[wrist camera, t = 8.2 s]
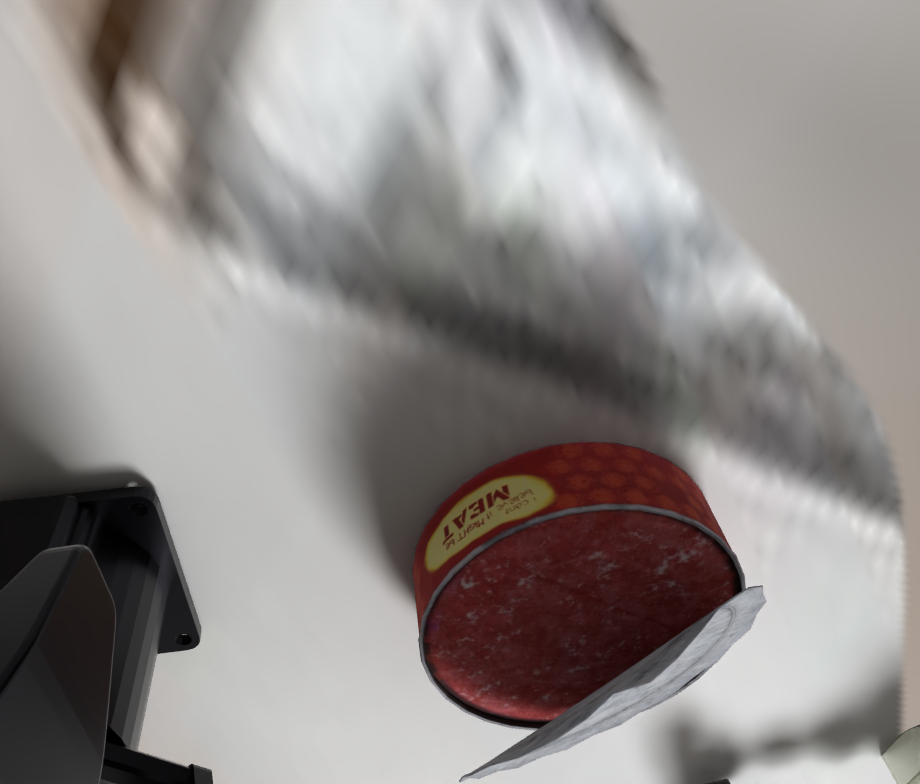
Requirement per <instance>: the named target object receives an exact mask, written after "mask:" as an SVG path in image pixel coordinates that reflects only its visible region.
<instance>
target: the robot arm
mask: <svg viewBox="0 0 920 784" xmlns="http://www.w3.org/2000/svg"><path fill="white" fill-rule="evenodd" d="M133 503H141V504H143V505H145V506H144V507H138V506H136V505H134V504H133ZM182 634H186V635H182ZM200 637H201V625H200V622H199V619H198V616H197V613H196V610H195V607H194V604H193V601H192V598H191V595H190V592H189V589H188V586H187V583H186V580H185V577H184V574H183V571H182V568H181V565H180V562H179V559H178V555H177V552H176V549H175V546H174V543H173V540H172V537H171V534H170V531H169V528H168V525H167V522H166V519H165V516H164V513H163V510H162V507H161V504H160V501H159V498H158V496H157V495H156V493H155V492H153V491H152V490H151V489H148V488H145V487H128V488H119V489H110V490H101V491H92V492H83V493H74V494H65V495H56V496H47V497H38V498H29V499H20V500H11V501H2V502H0V784H213V779H212V771H211V770H209V769H206V768H203V767H200V766H197V765H194V764H190V765H189V766H188V767H187V766H184V765H181V764H178V763H175V762H171V761H168V760H165V759H162V758H159V757H155V756H152V755H149V754H146V753H143V752H140V751H137V750H138V745H139V740H140V735H141V730H142V725H143V720H144V716H145V711H146V706H147V701H148V696H149V691H150V686H151V681H152V676H153V671H154V666H155V661H156V656H157V654H160V653H168V652H176V651H184V650H189V649H193V648H195V647H196V646H198V644H199V642H200Z"/></svg>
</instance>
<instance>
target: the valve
mask: <svg viewBox="0 0 920 784" xmlns="http://www.w3.org/2000/svg"><path fill="white" fill-rule="evenodd" d="M882 758H883V760H884V761H885V763H886V765H887V767H888V769H889V770H890V772H891V774H892V776H893V778H894V779H895V781H896V783H897V784H920V725H917V726H915V727H913V728H910V729H908V730H907V731H905V732H903V733H902V735H901V736H900V737H899V738H898V739H897V740H896V741H895V742H894V743H893V744H892V745H891V746H890V747H889V748H888V749H887V750H886V751H885V752H884V753H883V755H882ZM704 784H730V782H729V780H728V779H722V780H717V781H712V782H707V783H704Z"/></svg>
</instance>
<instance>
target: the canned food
mask: <svg viewBox="0 0 920 784" xmlns="http://www.w3.org/2000/svg"><path fill="white" fill-rule="evenodd" d="M412 572H413V580H414V588H415V598H416V608H417V618H418V628H419V639H418V641H419V649H420V657H421V662H422V664H423V666H424V669H425V671H426V673H427V675H428V677H429V679H430V681H431V682H432V684H433V685H434V686H435V687H436V688H437V689H438V691H439V692H440V693H441V694H442V695H443V696H444V698H445V699H447V700H448V701H450V702H451V703H452V704H454V705H455V706H457V707H458V708H459V709H461V710H462V711H464V712H466V713H468V714H470V715H472V716H475V717H477V718H479V719H481V720H484V721H486V722H490V723H494V724H498V725H501V726H505V727H509V728H516V729H525V730H535V732H534V733H532V734H530V735H529V736H527V737H526V738H524V739H523V740H521V741H520V742H518V743H517V744H515V745H514V746H512V747H511V748H509V749H507V750H506V751H504V752H503V753H501V754H500V755H498V756H497V757H495V758H494V759H492V760H491V761H489V762H488V763H486V764H484V765H483V766H481V767H479V768H478V769H476V770H474V771H473V772H471V773H469V774H467V775H464V776H463V777H462V778H461V779H460V780H459V782H461V781H464V780H466V779H468V778H476V779H479V778H482V777H485V776H487V775H490V774H492V773H495V772H497V771H502V770H508V769H514V768H519V767H521V766H523V765H525V764H527V763H530V762H532V761H534V760H536V759H538V758H540V757H543V756H546V755H550V754H553V753H557V752H560V751H563V750H567V749H569V748H571V747H573V746H574V745H576V744H578V743H580V742H582V741H584V740H586V739H587V738H589V737H591V736H593V735H596V734H598V733H601V732H603V731H606V730H608V729H611V728H614V727H616V726H619V725H621V724H623V723H624V722H626V721H627V720H629V719H630V718H632V717H633V716H635V715H636V714H638V713H640V712H643V711H645V710H648V709H650V708H652V707H654V706H656V705H658V704H660V703H662V702H664V701H666V700H667V699H669V698H671V697H673V696H675V695H677V694H678V693H679V692H681V691H682V690H684V689H685V688H687V687H688V686H689V685H691V684H692V683H694V682H695V681H696V680H698V679H699V678H700V677H701V676H702V675H703V674H704V673H705V672H706V671H707V670H709V669H710V668H711V667H712V666H713V665H714V664H715V663H717V662H718V661H719V660H720V658H721V657H722V656H723V655H724V654H725V653H726V651H727V650H728V649H729V648H730V647H731V646H732V645H733V644H734V643H735V642H736V641H737V640H738V639H740V638H741V637H742V636H743V635H744V634H745V633H747V632H748V631H749V630H750V629H751V626H752V624H753V622H754V619H755V617H756V615H757V613H758V612H759V611H760V609H761V608H762V607H763V605H764V604H765V603H766V599H765V597H764V594H763V586H754V587H748V588H747V589H746V587H745V576H744V573H743V571H742V568H741V566H740V563H739V561H738V559H737V556H736V555H735V553H734V552H733V551H732V549H731V548H730V546H729V544H728V542H727V540H726V538H725V536H724V534H723V532H722V530H721V528H720V526H719V524H718V522H717V520H716V518H715V517H714V515H713V513H712V511H711V509H710V507H709V505H708V503H707V501H706V499H705V497H704V495H703V493H702V491H701V490H700V489H699V487H698V486H697V485H696V484H695V482H694V481H693V480H692V479H691V478H690V476H689V475H688V474H687V473H686V472H684V471H683V470H681V469H680V468H679V467H677V466H676V465H675V464H673V463H672V462H670V461H669V460H668V459H665V458H663V457H661V456H658V455H656V454H654V453H651V452H649V451H647V450H644V449H642V448H637V447H632V446H628V445H623V444H618V443H614V442H589V441H580V442H572V443H563V444H555V445H548V446H545V447H541V448H537V449H534V450H530V451H527V452H523V453H519V454H517V455H514V456H512V457H510V458H508V459H505V460H503V461H501V462H499V463H496V464H494V465H492V466H490V467H488V468H486V469H485V470H483V471H481V472H480V473H478V474H477V475H475V476H474V477H472V478H471V479H469V480H468V481H466V482H465V483H463V484H462V485H461V486H460V487H458V488H457V489H456V490H455V491H454V492H453V493H452V494H451V495H450V496H449V497H448V498H447V499H446V500H445V501H443V502H442V503H441V504H440V506H439V507H438V509H437V510H436V511H435V513H434V514H433V515H432V517H431V518H430V520H429V521H428V522H427V524H426V525H425V527H424V529H423V532H422V534H421V536H420V539H419V541H418V543H417V546H416V548H415V555H414V562H413V568H412Z"/></svg>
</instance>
